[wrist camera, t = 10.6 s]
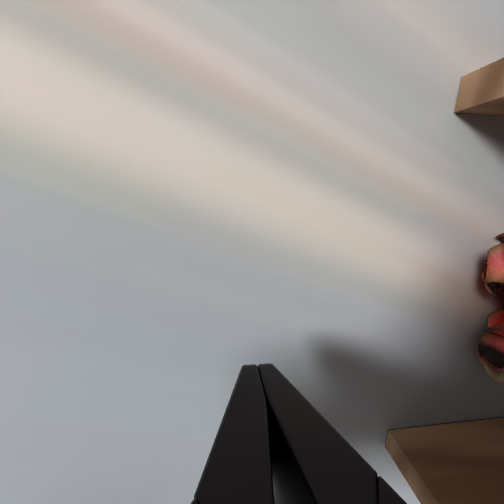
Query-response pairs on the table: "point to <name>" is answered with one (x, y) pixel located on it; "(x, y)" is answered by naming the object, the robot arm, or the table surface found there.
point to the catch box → (462, 433)
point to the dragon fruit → (493, 318)
